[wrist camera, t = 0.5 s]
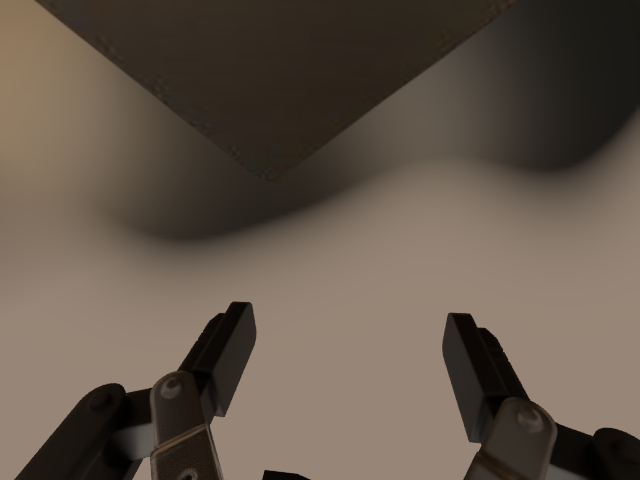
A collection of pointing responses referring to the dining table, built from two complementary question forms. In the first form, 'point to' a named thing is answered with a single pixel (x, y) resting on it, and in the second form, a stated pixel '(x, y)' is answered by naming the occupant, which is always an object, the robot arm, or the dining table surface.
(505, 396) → the robot arm
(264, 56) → the dining table surface
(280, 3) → the dining table surface
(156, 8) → the dining table surface
